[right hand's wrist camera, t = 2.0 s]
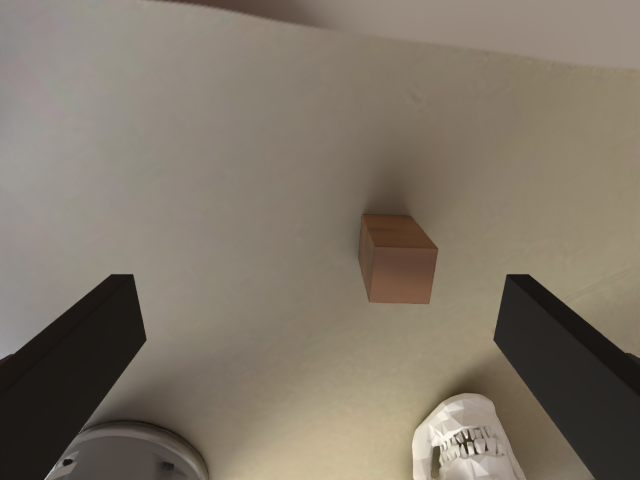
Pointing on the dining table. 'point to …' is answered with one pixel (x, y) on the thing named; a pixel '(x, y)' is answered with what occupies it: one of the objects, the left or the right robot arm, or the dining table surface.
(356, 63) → the dining table surface
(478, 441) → the skull
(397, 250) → the block
